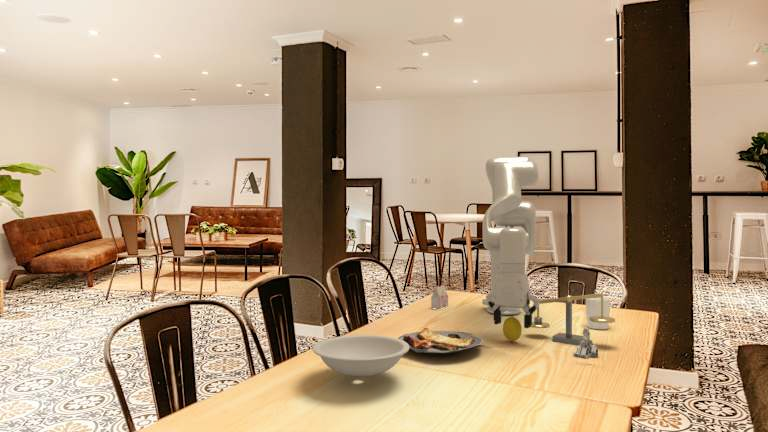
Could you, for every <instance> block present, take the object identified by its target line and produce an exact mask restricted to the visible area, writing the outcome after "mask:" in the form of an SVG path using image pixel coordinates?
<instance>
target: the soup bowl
mask: <svg viewBox="0 0 768 432" xmlns="http://www.w3.org/2000/svg"><path fill="white" fill-rule="evenodd" d="M409 350H410V347H409V344H408V343H406V342H405V341H403V340H400V339H398V338H397V337H392V336H387V335H376V334H352V335H351V334H350V335H342V336H335V337H329V338H327V339H326V338H325V339H322V340H320V341H318V342H317V343H315V344H314V345H313V346H312V351H313V353H314V354H315V355H317V356H319V357H320V359H321V361H322V362H323V363H324V364H325V365H326V366H327V367H328V368H330V369H331V370H332V371H334V372H336V373H338V374H341V375H345V376H350V377H369V376H376V375H379V374H382V373H385V372H387V371H389V370H391V369H392V368H394V367H395V366H396V365H397V364H398V362H399V361H400V360H401V358H402V357H403V355H405V354H407V353H408V352H409Z"/></svg>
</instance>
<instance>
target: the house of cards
mask: <svg viewBox="0 0 768 432" xmlns="http://www.w3.org/2000/svg"><path fill="white" fill-rule="evenodd" d="M589 329H590V328H583V331H582V336H583V341H581V344H580V345H577V346H576V350H575V351H574V352H572V353H573V354H572V356H573V357H575V358H581V359H586V360H587V359H588V358H594V359H596V358H599V349H598V346H596V344H595V345H594V343H593V339H591V336H590V335H591V333H590V330H589Z"/></svg>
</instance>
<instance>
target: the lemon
mask: <svg viewBox="0 0 768 432" xmlns="http://www.w3.org/2000/svg"><path fill="white" fill-rule="evenodd" d="M522 331H523V330H522V324H521V322H520V320H519V319H518V318H516V317H515V316H513V315H510V316H509V317H507V318H506V319H505V320H504V321H503V326H502V333H503V335H504V337H505V339H507V340H508V341H510V343H514V342H515V341H517V340H519V338H521V335H522Z"/></svg>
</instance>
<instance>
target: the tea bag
mask: <svg viewBox="0 0 768 432" xmlns="http://www.w3.org/2000/svg"><path fill="white" fill-rule="evenodd" d="M430 301H431V303H430V304H431V305H430V306H431V308H436V309H441V308H443V307H446V306H448V307H449V295H448V292H447V289H446V287H445V285H440V286H436V287H434V290H433V293H432V295H431V300H430ZM431 308H430V309H431ZM441 310H442V309H441Z"/></svg>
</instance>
